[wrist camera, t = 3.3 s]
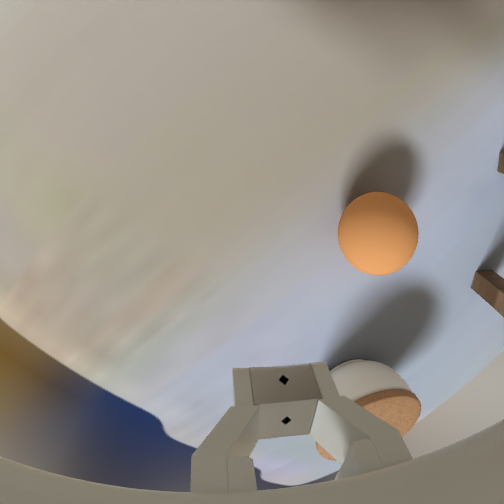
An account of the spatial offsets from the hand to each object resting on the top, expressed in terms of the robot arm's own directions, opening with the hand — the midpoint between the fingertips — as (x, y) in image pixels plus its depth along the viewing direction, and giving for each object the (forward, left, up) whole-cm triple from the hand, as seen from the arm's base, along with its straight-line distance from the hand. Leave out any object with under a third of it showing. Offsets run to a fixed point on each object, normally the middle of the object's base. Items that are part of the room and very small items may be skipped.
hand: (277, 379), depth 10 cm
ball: (0, +9, -12) cm, 16 cm away
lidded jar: (+18, +11, -16) cm, 26 cm away
